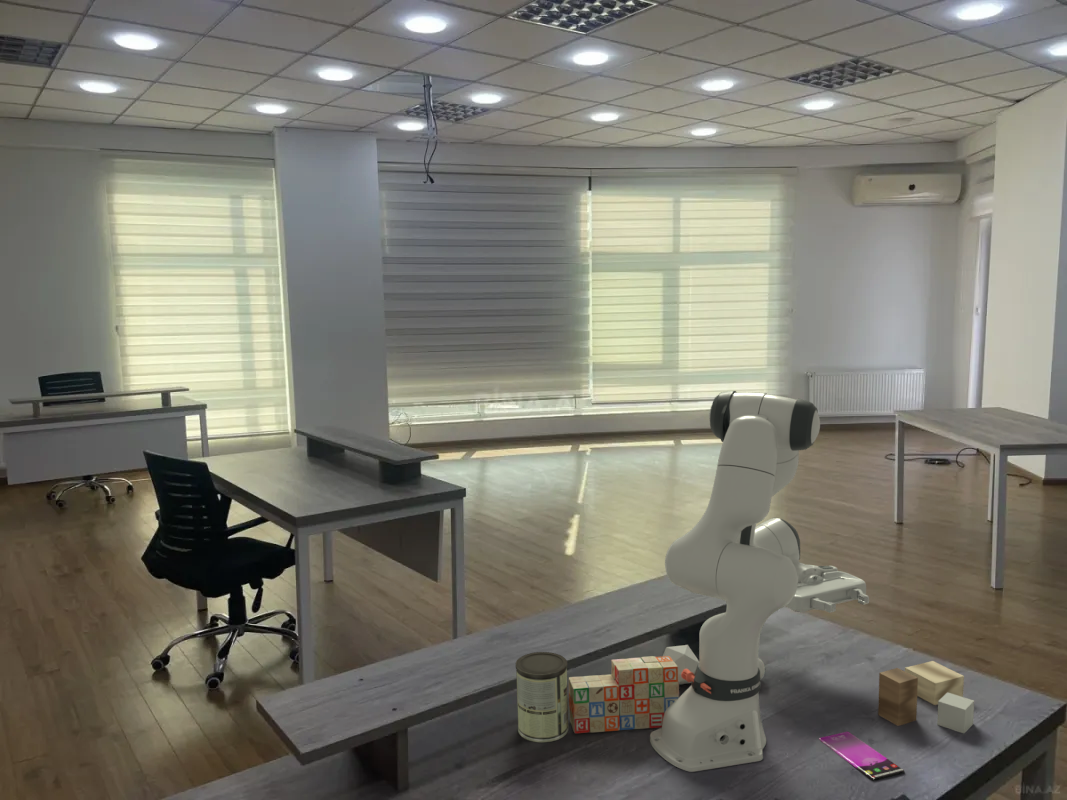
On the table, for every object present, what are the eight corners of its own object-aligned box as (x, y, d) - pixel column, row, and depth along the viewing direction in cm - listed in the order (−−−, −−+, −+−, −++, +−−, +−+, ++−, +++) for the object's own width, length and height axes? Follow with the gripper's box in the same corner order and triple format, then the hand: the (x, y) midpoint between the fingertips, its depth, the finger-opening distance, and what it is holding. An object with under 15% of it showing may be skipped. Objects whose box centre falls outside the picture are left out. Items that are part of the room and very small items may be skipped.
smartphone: (872, 783, 145) (872, 778, 144) (817, 740, 159) (818, 736, 159) (905, 775, 147) (905, 770, 147) (849, 733, 161) (849, 729, 161)
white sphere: (768, 685, 181) (769, 661, 180) (743, 687, 180) (743, 662, 180) (757, 670, 188) (757, 646, 188) (733, 671, 188) (733, 647, 187)
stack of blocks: (574, 735, 161) (572, 673, 161) (569, 721, 168) (567, 662, 167) (680, 726, 164) (678, 665, 163) (671, 713, 170) (669, 654, 169)
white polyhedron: (694, 696, 178) (711, 654, 181) (659, 678, 178) (677, 636, 181) (681, 692, 186) (697, 652, 189) (648, 675, 186) (664, 635, 188)
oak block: (934, 706, 170) (935, 683, 170) (904, 689, 178) (905, 667, 177) (963, 698, 173) (963, 676, 173) (932, 682, 181) (932, 660, 180)
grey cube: (964, 734, 159) (965, 709, 159) (937, 724, 163) (938, 701, 162) (973, 724, 163) (974, 700, 162) (946, 715, 166) (947, 692, 166)
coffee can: (514, 719, 169) (512, 653, 167) (563, 714, 170) (561, 649, 169) (521, 745, 159) (519, 676, 157) (573, 740, 160) (572, 671, 159)
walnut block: (898, 726, 163) (899, 683, 161) (878, 714, 167) (879, 672, 166) (916, 720, 165) (917, 677, 163) (896, 709, 169) (897, 667, 168)
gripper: (768, 579, 183) (812, 599, 171) (838, 564, 192) (885, 582, 179) (768, 606, 184) (812, 628, 172) (837, 590, 192) (884, 610, 180)
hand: (850, 604), depth 175 cm, fingers open, 8 cm apart
